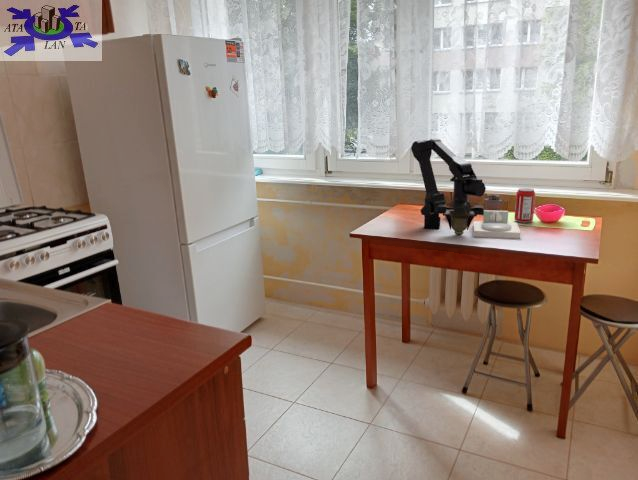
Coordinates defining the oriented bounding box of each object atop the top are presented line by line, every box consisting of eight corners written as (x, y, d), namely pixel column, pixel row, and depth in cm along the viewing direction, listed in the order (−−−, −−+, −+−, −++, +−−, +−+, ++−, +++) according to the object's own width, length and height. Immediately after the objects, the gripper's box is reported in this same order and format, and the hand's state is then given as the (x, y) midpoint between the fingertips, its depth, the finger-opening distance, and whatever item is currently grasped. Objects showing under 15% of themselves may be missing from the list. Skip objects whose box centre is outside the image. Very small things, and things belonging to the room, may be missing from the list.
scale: (473, 236, 203) (474, 218, 201) (473, 226, 218) (474, 209, 215) (520, 238, 198) (521, 220, 196) (516, 228, 213) (517, 211, 210)
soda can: (523, 224, 217) (526, 191, 213) (510, 220, 224) (512, 188, 220) (536, 222, 220) (539, 189, 216) (523, 218, 227) (525, 186, 223)
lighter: (501, 214, 235) (503, 194, 233) (500, 216, 233) (501, 195, 230) (484, 213, 240) (485, 193, 237) (482, 214, 237) (484, 194, 234)
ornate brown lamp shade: (468, 236, 201) (469, 218, 199) (450, 236, 203) (451, 217, 200) (467, 231, 208) (468, 213, 206) (449, 231, 210) (450, 213, 207)
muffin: (475, 220, 227) (476, 199, 224) (451, 221, 227) (452, 200, 225) (468, 214, 239) (469, 194, 236) (445, 215, 239) (446, 195, 236)
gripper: (436, 196, 196) (435, 233, 200) (485, 197, 190) (482, 235, 195) (437, 191, 206) (436, 226, 210) (484, 191, 200) (482, 228, 205)
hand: (458, 229), depth 205 cm, fingers closed on ornate brown lamp shade, 6 cm apart
